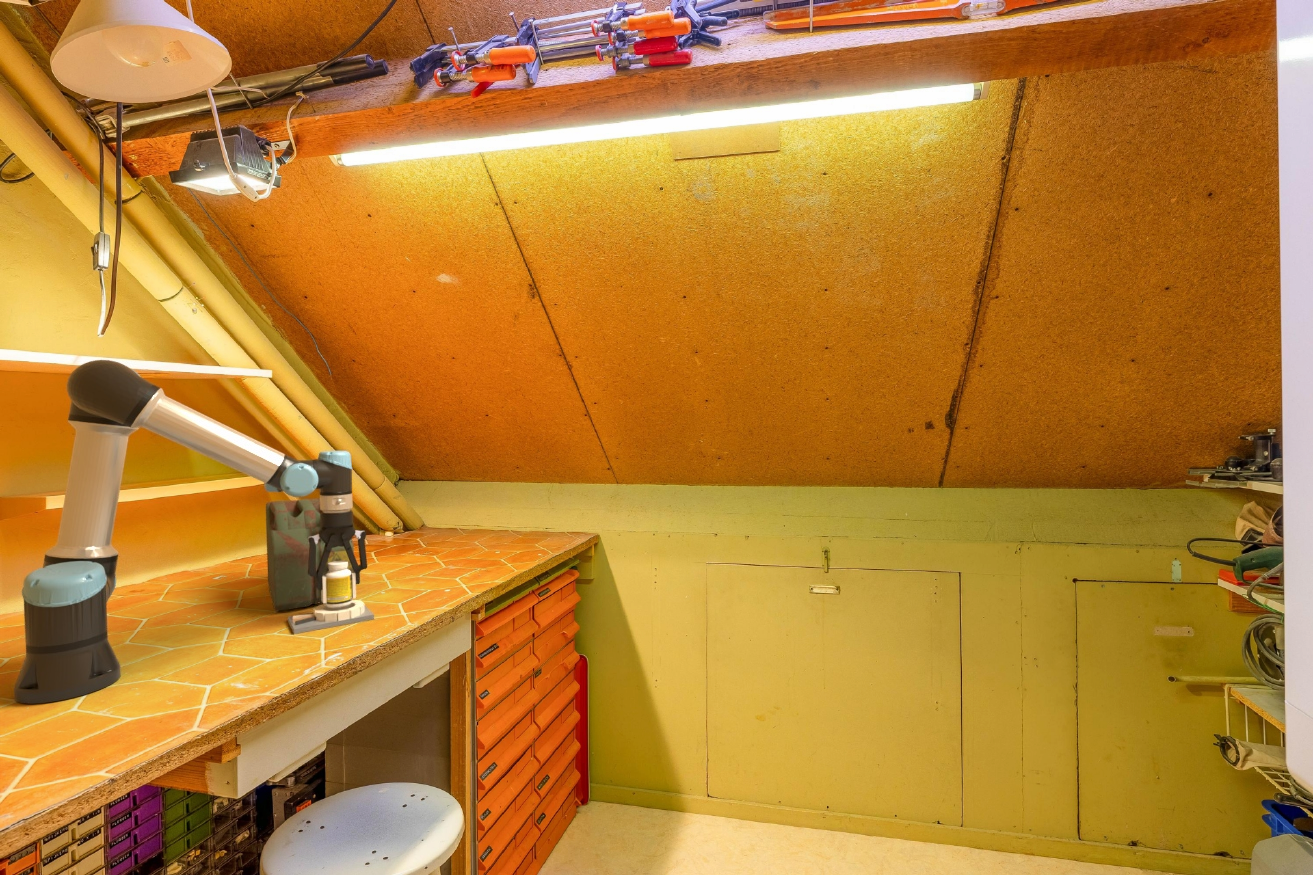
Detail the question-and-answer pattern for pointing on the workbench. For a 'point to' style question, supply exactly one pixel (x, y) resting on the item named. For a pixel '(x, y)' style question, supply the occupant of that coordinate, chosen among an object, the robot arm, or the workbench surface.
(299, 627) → the junction plate
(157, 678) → the workbench surface
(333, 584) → the pill bottle
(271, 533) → the fuel can
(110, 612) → the workbench surface
